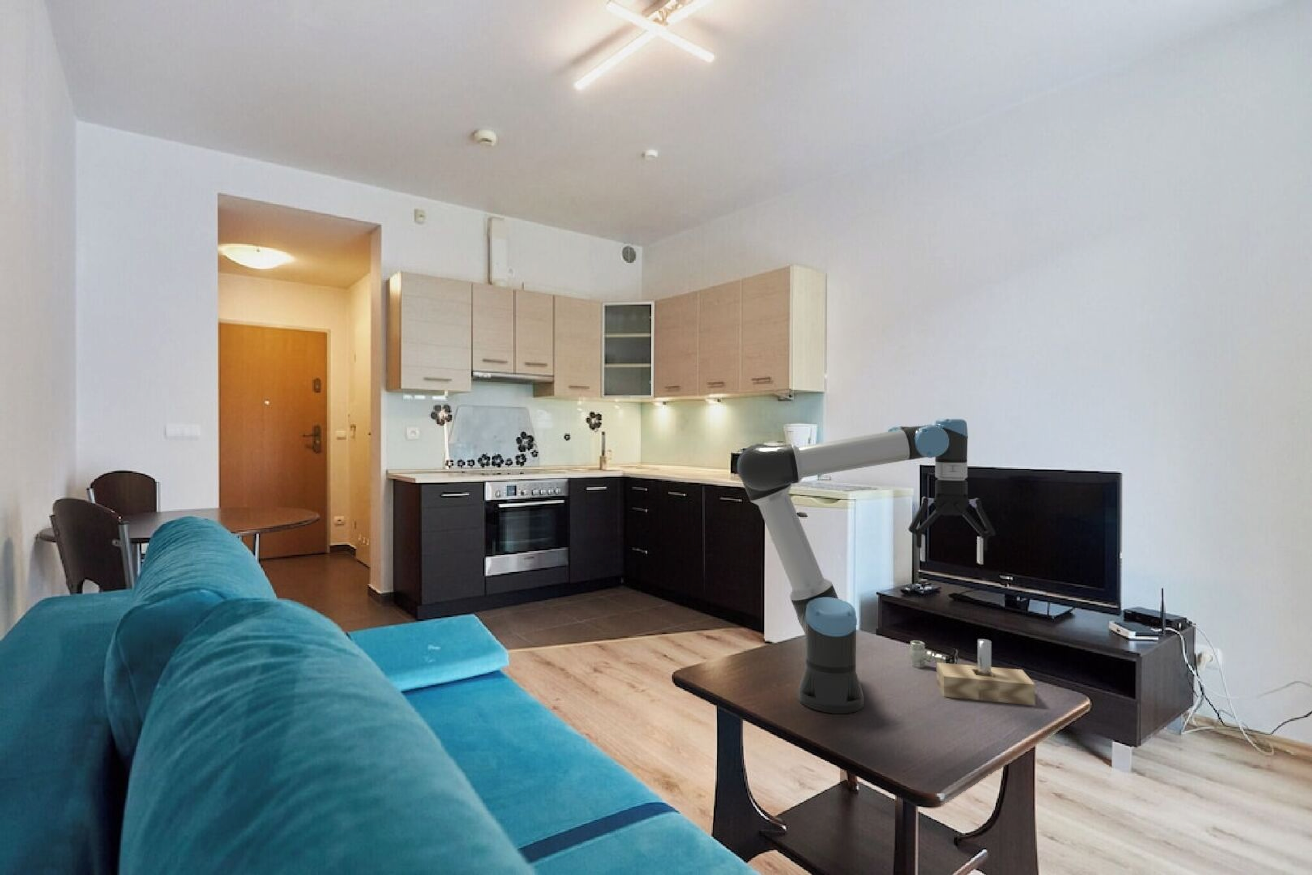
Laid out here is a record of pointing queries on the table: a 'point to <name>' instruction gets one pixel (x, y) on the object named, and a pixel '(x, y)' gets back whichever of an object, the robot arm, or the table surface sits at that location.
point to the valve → (928, 655)
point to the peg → (984, 657)
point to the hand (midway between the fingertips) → (950, 561)
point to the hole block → (985, 684)
